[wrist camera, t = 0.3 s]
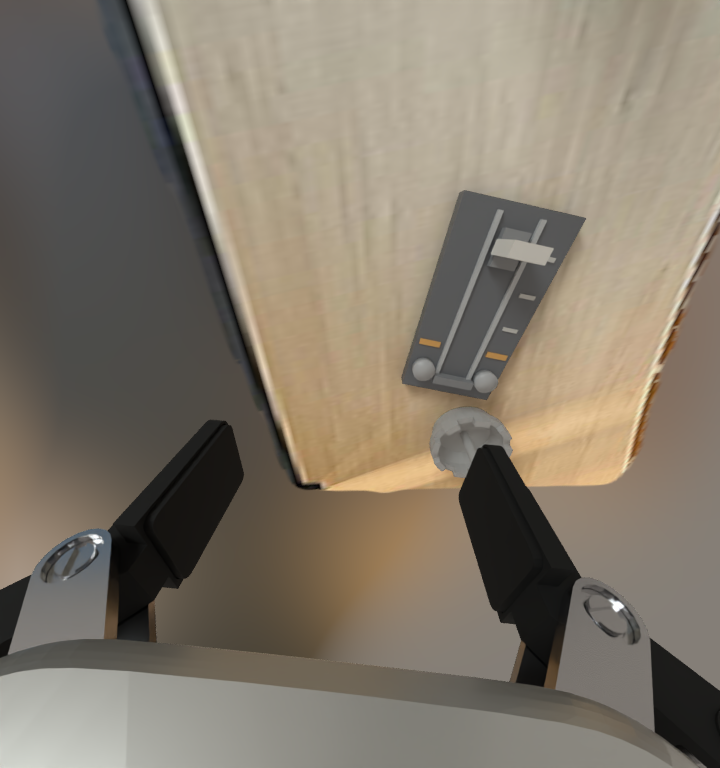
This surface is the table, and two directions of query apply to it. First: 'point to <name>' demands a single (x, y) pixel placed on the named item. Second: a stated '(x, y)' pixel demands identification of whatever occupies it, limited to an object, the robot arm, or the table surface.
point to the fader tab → (517, 250)
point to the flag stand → (465, 438)
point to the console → (483, 295)
